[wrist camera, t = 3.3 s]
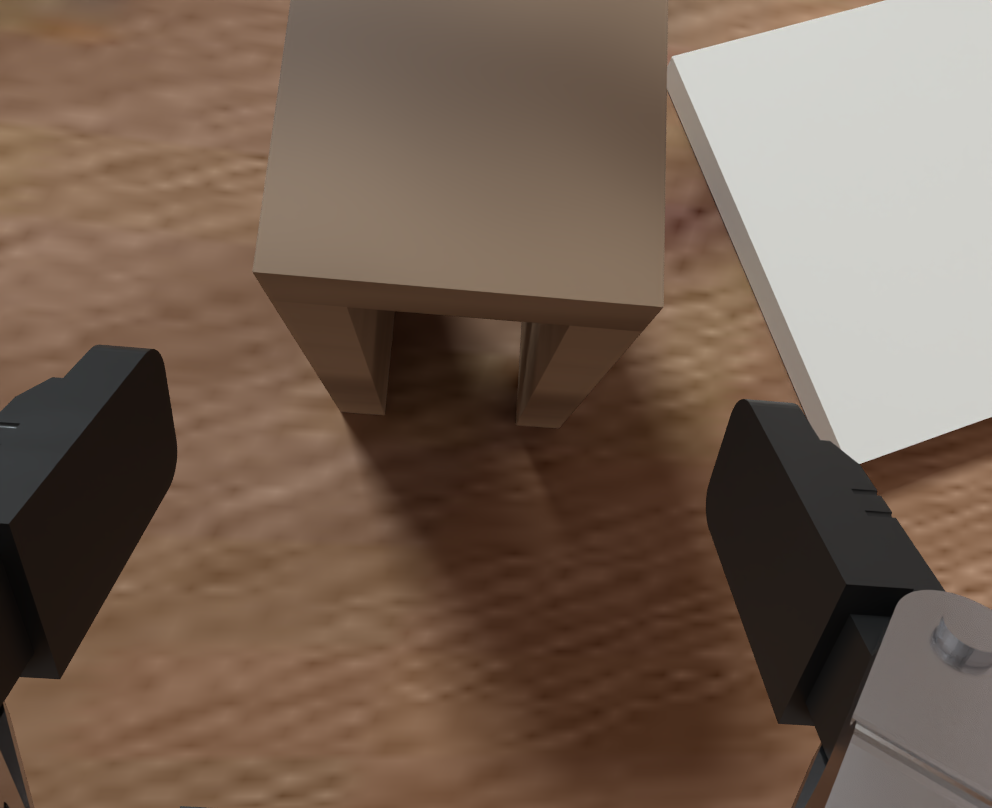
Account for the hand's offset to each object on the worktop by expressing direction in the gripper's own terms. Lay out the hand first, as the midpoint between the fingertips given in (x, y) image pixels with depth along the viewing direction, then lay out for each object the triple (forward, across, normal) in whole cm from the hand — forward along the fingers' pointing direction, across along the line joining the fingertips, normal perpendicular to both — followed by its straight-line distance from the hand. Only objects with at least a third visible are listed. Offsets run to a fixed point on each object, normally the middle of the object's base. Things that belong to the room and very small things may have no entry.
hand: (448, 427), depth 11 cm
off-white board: (+14, -14, 0) cm, 20 cm away
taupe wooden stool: (+10, 0, +3) cm, 11 cm away
